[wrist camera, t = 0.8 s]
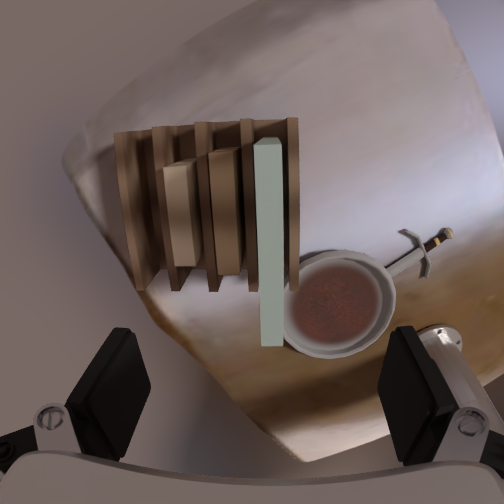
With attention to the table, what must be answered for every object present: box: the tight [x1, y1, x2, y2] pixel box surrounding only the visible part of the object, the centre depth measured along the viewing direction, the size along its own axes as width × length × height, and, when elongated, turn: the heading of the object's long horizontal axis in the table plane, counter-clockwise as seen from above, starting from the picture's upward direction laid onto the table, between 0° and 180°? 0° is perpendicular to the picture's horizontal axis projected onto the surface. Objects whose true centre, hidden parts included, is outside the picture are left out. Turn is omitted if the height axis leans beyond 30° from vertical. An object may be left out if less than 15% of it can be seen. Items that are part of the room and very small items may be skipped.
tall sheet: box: [254, 137, 284, 346], centre depth 29 cm, size 14×2×18 cm, turn 3°
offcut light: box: [163, 158, 204, 266], centre depth 34 cm, size 10×2×8 cm, turn 3°
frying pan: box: [283, 228, 454, 359], centre depth 41 cm, size 17×3×28 cm
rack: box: [114, 118, 300, 292], centre depth 35 cm, size 18×19×7 cm
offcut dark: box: [208, 147, 246, 275], centre depth 34 cm, size 12×2×8 cm, turn 2°
